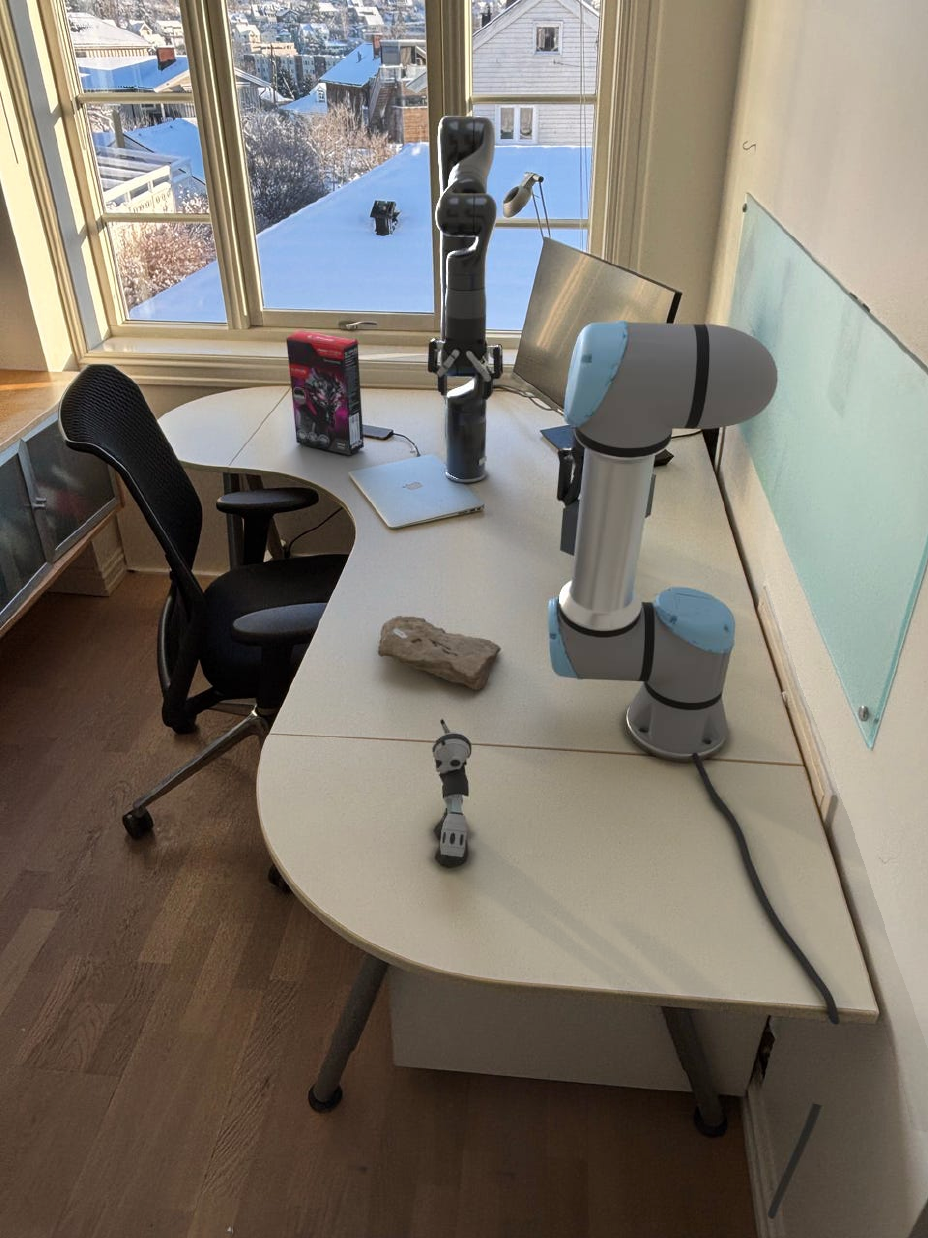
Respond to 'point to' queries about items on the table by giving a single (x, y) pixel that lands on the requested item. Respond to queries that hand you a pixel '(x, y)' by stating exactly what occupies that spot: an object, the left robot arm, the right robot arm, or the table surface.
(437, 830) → the robot
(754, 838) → the table surface
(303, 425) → the graphics card box
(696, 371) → the right robot arm
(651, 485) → the bar
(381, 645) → the stone
